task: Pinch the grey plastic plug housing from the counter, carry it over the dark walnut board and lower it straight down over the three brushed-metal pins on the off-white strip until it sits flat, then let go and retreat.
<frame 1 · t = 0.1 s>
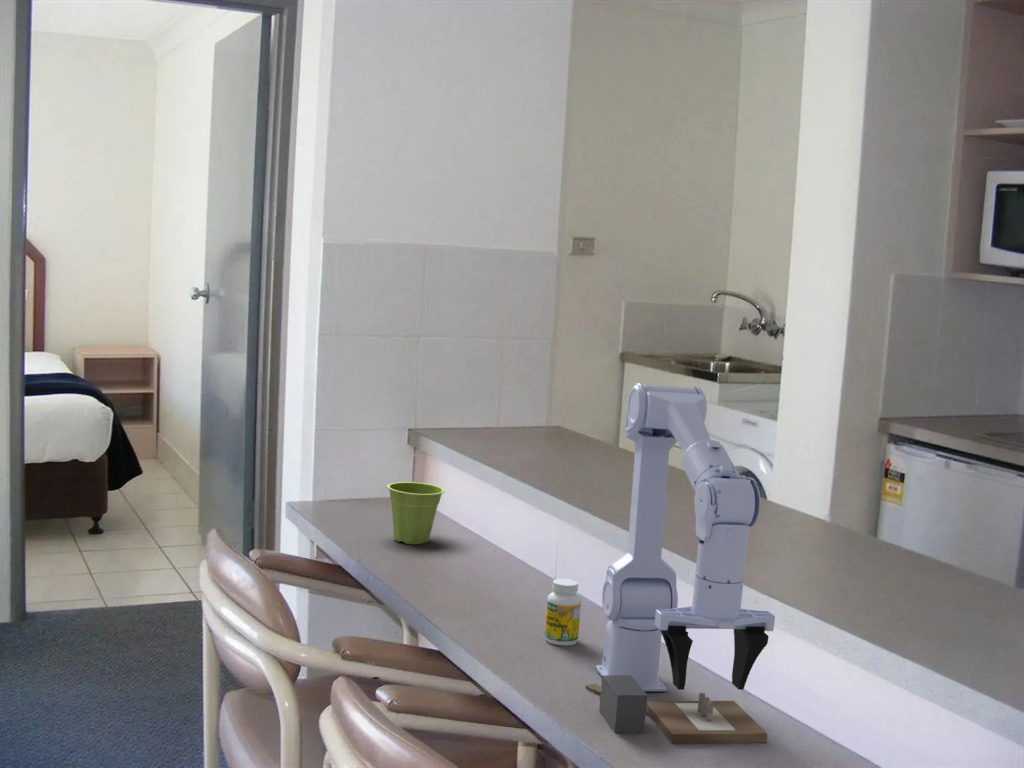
hand: (708, 686, 140), 10 cm above the table, tool pointing down, fingers open, 7 cm apart
plug housing: (621, 721, 153), on the table
plant pot: (412, 541, 241), on the table
pin board: (703, 725, 154), on the table
supplement bottle: (560, 642, 184), on the table
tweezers: (619, 705, 160), on the table
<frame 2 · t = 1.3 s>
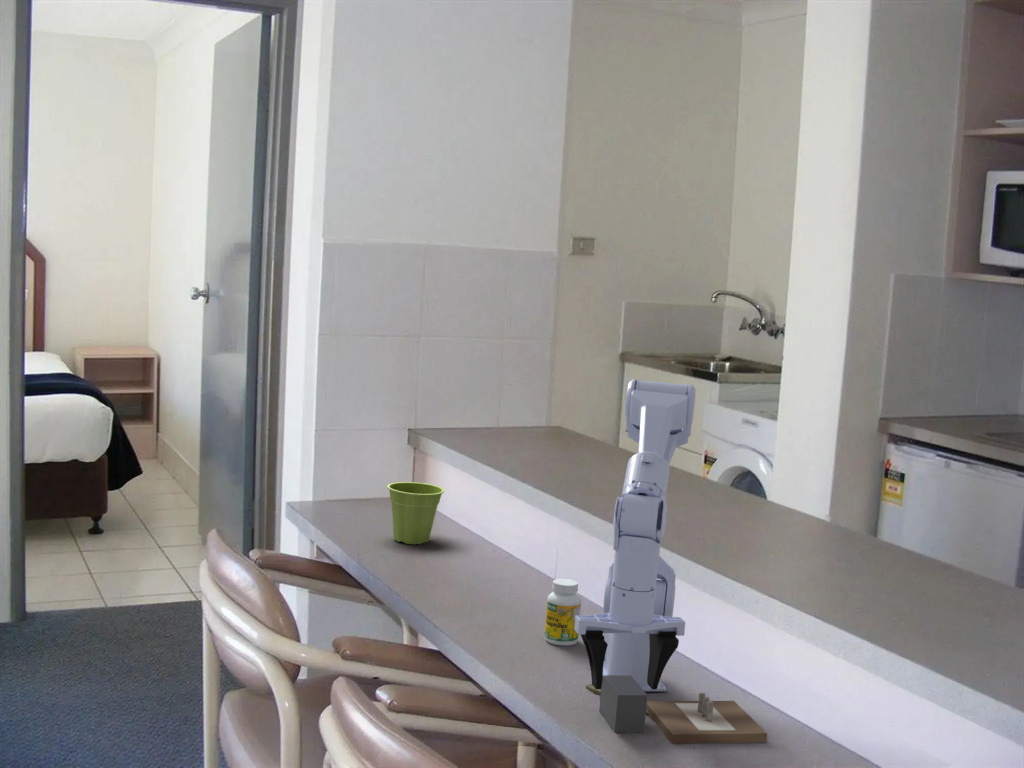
hand: (624, 686, 152), 5 cm above the table, tool pointing down, fingers open, 7 cm apart
nothing on the table moved.
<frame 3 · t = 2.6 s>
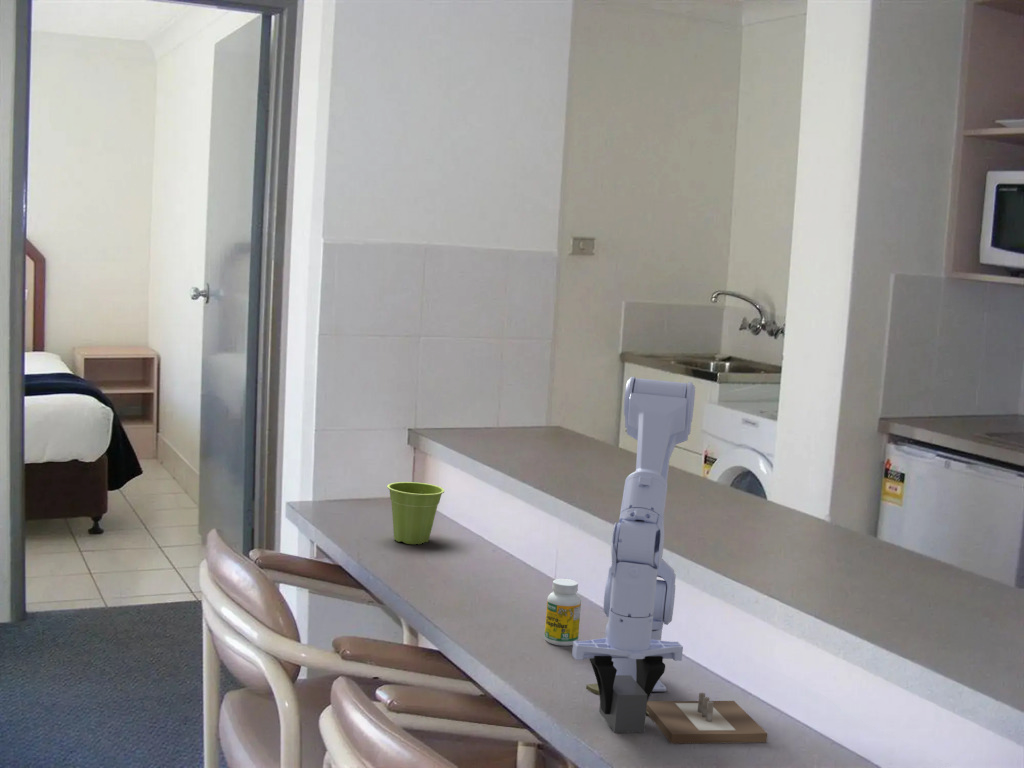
hand: (622, 711, 153), 1 cm above the table, tool pointing down, fingers closed on plug housing, 4 cm apart
plug housing: (621, 721, 153), on the table, touching gripper
everything else where it was.
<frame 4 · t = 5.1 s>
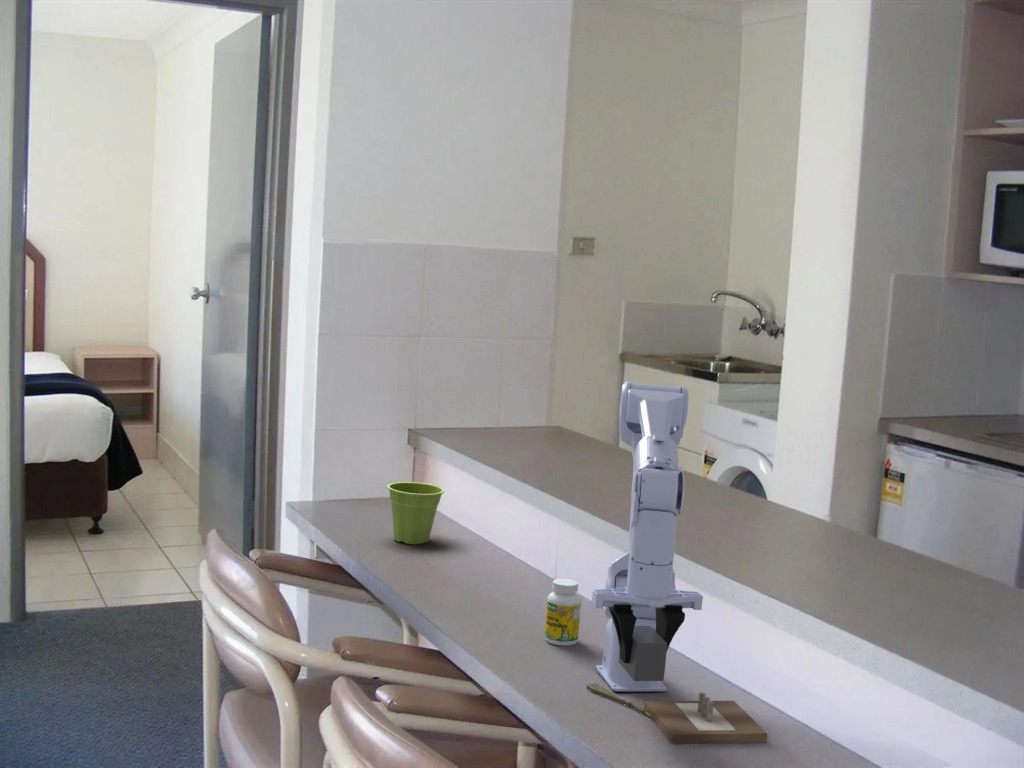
hand: (641, 660, 152), 8 cm above the table, tool pointing down, fingers closed on plug housing, 4 cm apart
plug housing: (640, 671, 152), point 7 cm above the table, touching gripper
everything else where it was.
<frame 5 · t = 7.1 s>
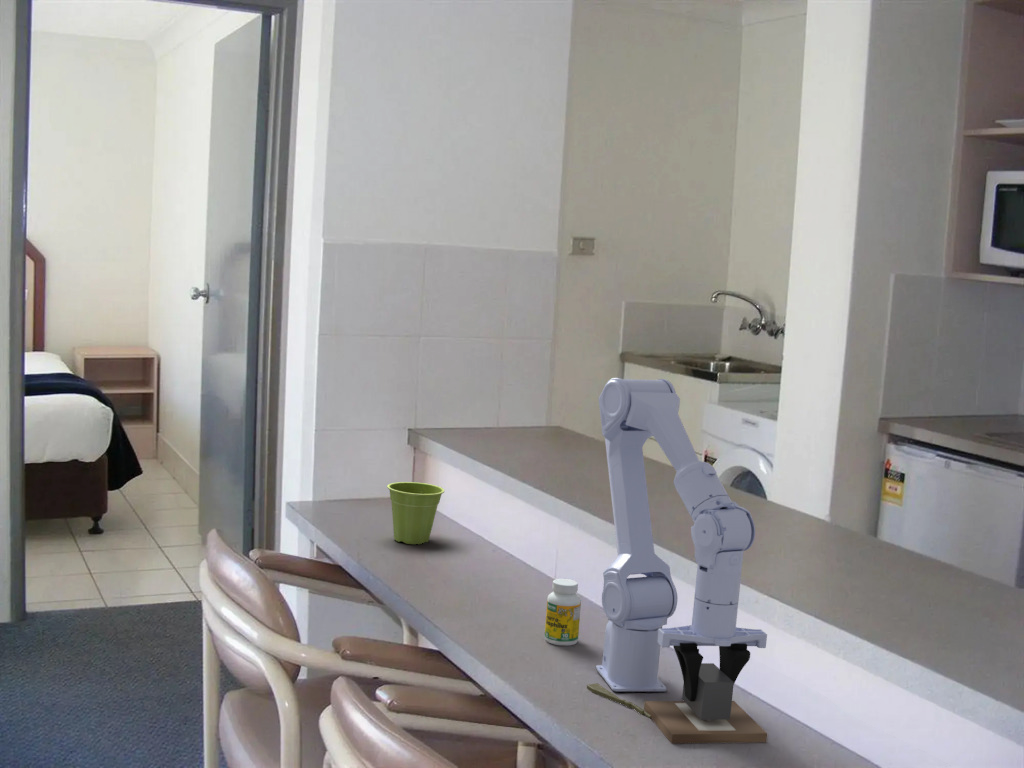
hand: (706, 698, 153), 4 cm above the table, tool pointing down, fingers closed on plug housing, 4 cm apart
plug housing: (705, 709, 154), point 2 cm above the table, touching gripper
everything else where it was.
when the fingers open (4 cm above the table, at t = 7.8 s): plug housing stays where it is, resting on pin board.
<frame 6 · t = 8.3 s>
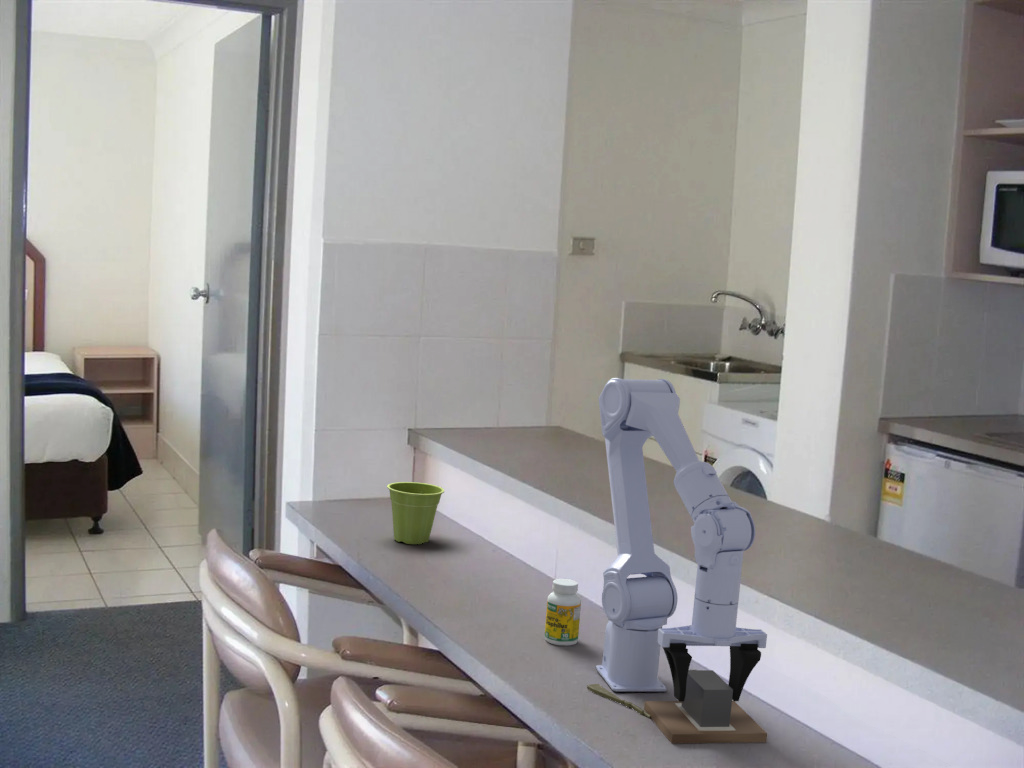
hand: (706, 698, 153), 4 cm above the table, tool pointing down, fingers open, 7 cm apart
plug housing: (704, 716, 154), point 1 cm above the table, touching pin board
everything else where it was.
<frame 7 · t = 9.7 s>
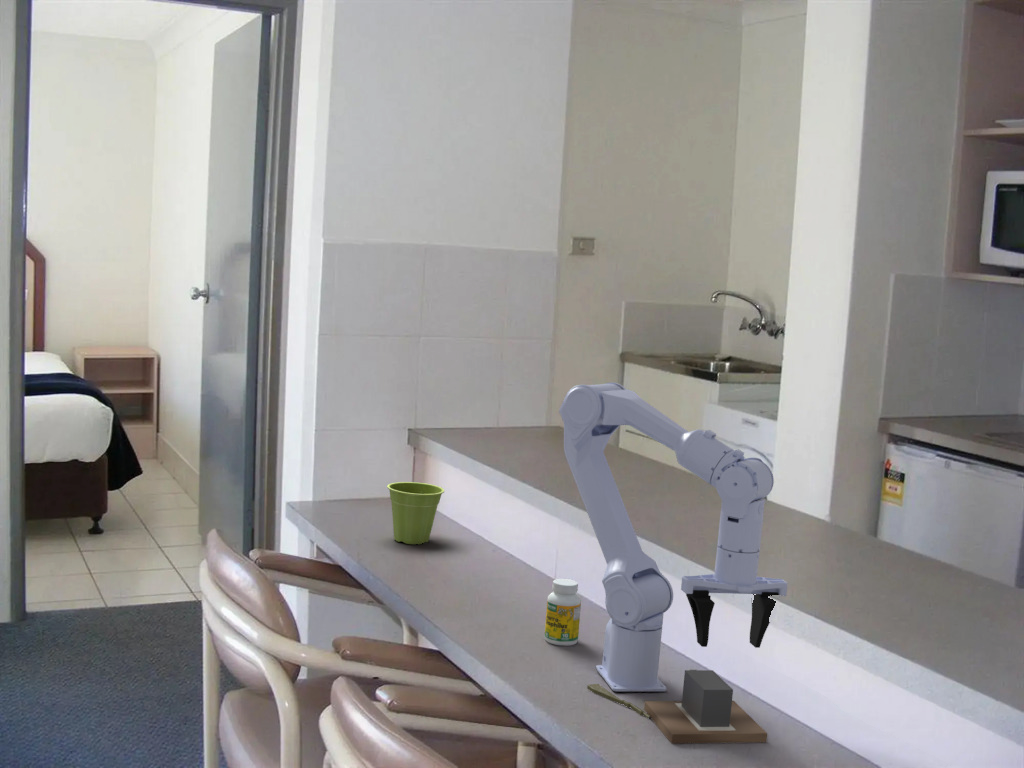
hand: (728, 644, 159), 9 cm above the table, tool pointing down, fingers open, 7 cm apart
nothing on the table moved.
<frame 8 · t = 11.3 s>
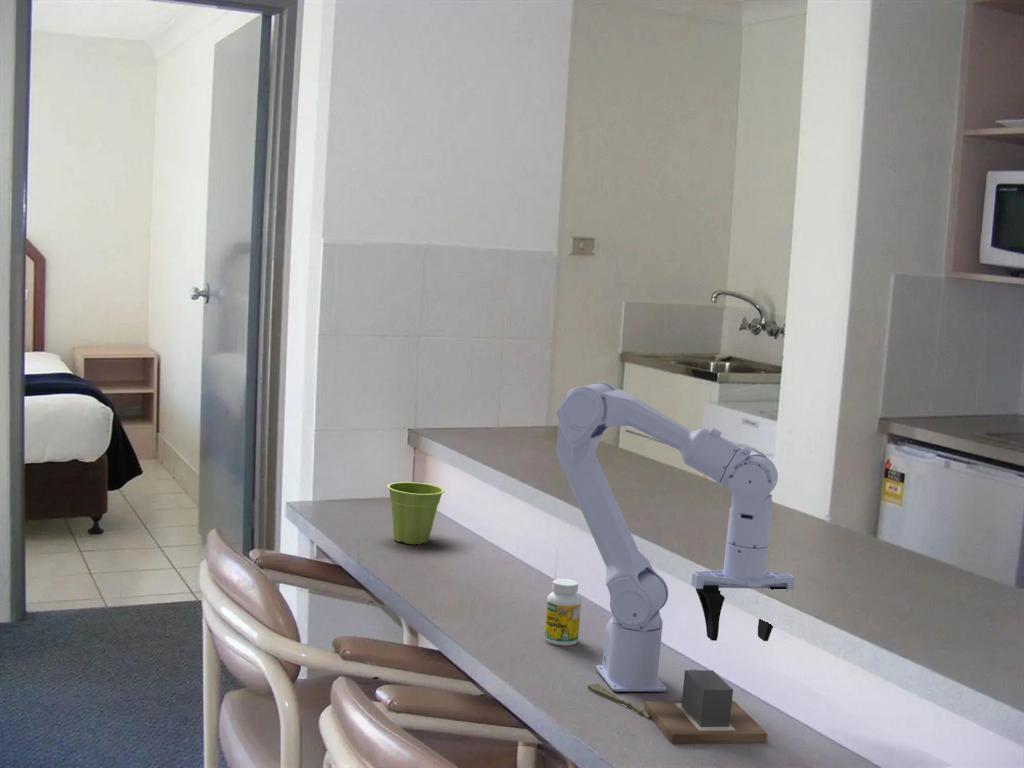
hand: (737, 638, 162), 9 cm above the table, tool pointing down, fingers open, 7 cm apart
nothing on the table moved.
at the end: plug housing 0.0 cm off-centre on the pin board, point 1.3 cm above the pin board's base; plug housing tilted 0°; the gripper is holding nothing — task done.
